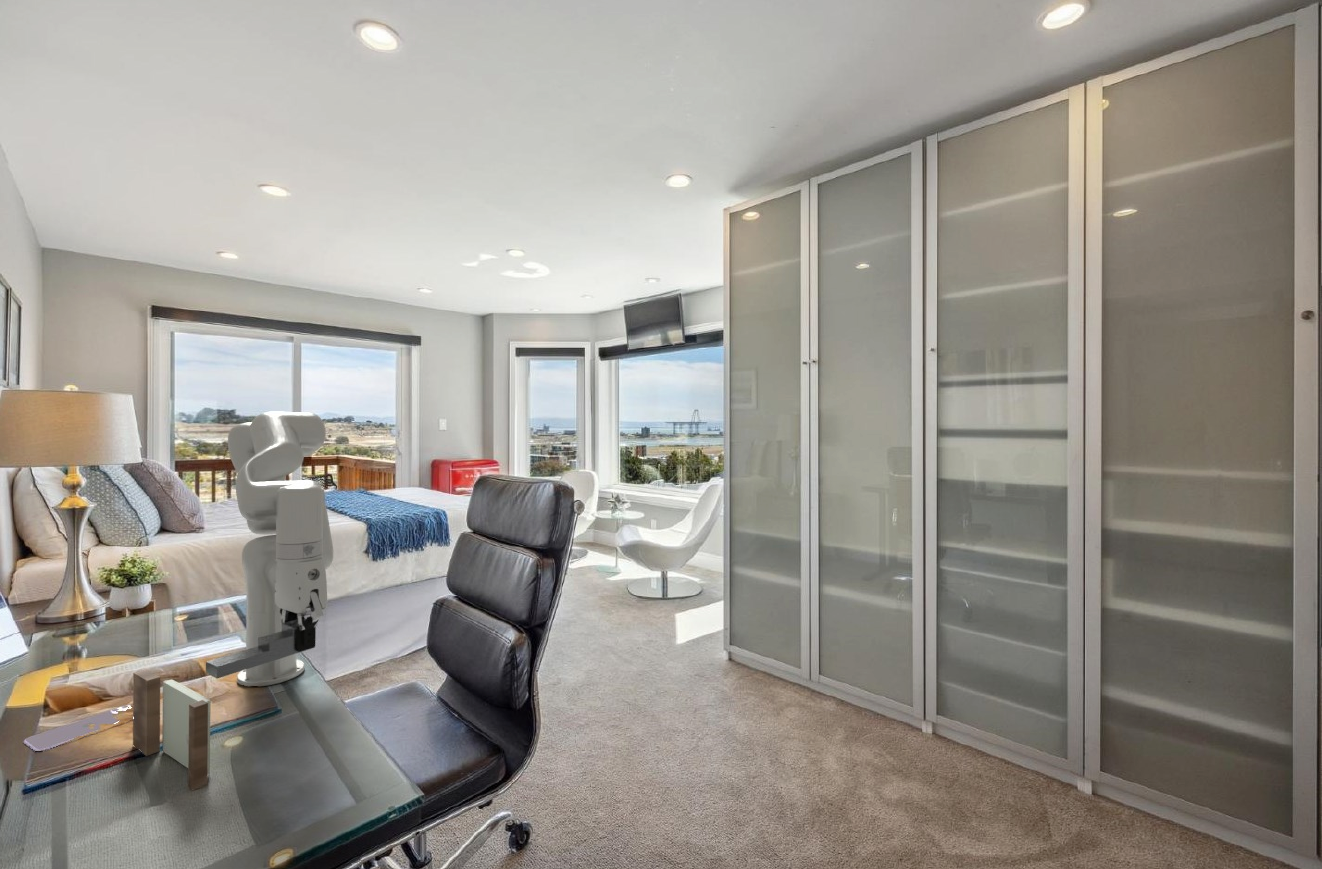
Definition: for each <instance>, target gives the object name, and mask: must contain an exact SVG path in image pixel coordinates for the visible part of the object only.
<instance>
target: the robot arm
mask: <svg viewBox="0 0 1322 869" xmlns="http://www.w3.org/2000/svg"><path fill="white" fill-rule="evenodd" d="M326 432H327V431H326V426H325V423H324V421H323V419H322V418H321V417H320V416H319V415H318V414H316V413H312V412H302V411H301V412H297V411H296V412H294V411H293V412H291V411H267V412H263V413H261V414H258V415H257V416H255V417H254V418H253V419H252V420H251V422H250V421H249V422H244V423H243V422H242V423H238V424H237V425H235V426H233V427H232V428H231V429H230V430H229V433H228V436H227V447H228V454H229V457H230V460H231V462H232V465H233V468H234V470H235V471H236V473H237V475H236V478H235V494H236V500H237V506H238V510H239V513H240V514H241V516H242V518H243V519H245V520H246V524H247V527H248V529H249V530H250V532H252V533H253V534H255V535H260V537H259V536H258V537H255V538H253V539H251V540H250V541H248V542H246V543H245V545H244V546H243V548H242V552H241V561H242V568H243V573H244V575H243V576H244V580H245V581H244V582H245V591H246V592H245V594H246V595H245V596H246V597H245V598H246V607H245V608H246V610H245V611H246V617H245V619H246V620H245V621H246V623H245V624H246V625H245V626H246V628H245V629H246V631H245V634H246V635H245V641H246V642H245V650H247V649H250V648H254V647H257V646H258V638H260V637H264V636H267V635H271V634H274V633H278V632H281V630H282V623H285V622H289V621H293V620H297V619H298V624H299V630H296V651H298V652H299V653H301V651H302V652H305V651H304V650H306V651H308V650H307V649H309V650H311V649H310V648H312V649H314V648H313V647H315V648H316V639H317V638H316V637H317V636H316V629H317V628H316V627H318V622H319V620H320V619H322V618H323V617H324V611H323V610H325V609H326V608H327V607H328V584H327V583H328V582H327V573H326V570H327V569H328V568H331V567H330V566H332V564H333V561H334V546H333V539H332V533H331V526H330V522H329V515H328V509H327V505H326V502H325V501H326V492H325V489H324V488H323V487H322V486H321V485H320V483H319V481H318V482H317V481H315V480H309V479H308V480H307V479H305V480H303V479H302V480H301V479H300V480H287V479H286V477H285V476H288V475H290V474H293V473H294V472H296V471H297V470H298V469H299V468H300V467H301V466H302V464H303V462H304V458H305V457H308V456H311V455H313V454H314V453H315V452H317V451H318V450H320V448H322V446H323V445H324V443H325V441H326V436H327V435H326ZM261 535H263V536H261ZM307 609H310V610H307ZM305 616H307V617H305ZM304 618H306V620H304ZM297 654H298V653H296V654H293V655H290V656H287V657H284V658H280V659H277V660H274V661H271V662H268V663H265V664H262V665H258V666H255V667H252V668H249V669H246V670H243V671H240V672H238V674H237V676H236V677H237V678H236V681H237V683H238V685H241V686H243V685H244V686H245V687H250V686H258V687H265V686H271V685H276V684H281V683H284V682H287V681H289V680H291V679H294V678H296V677H297V676H299V675H300V674H302V673H303V672H304V670H305V662H303V661H302V660H301V659H298V658H297V657H298V656H297Z"/></svg>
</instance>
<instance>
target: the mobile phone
mask: <svg viewBox="0 0 1322 869" xmlns="http://www.w3.org/2000/svg"><path fill="white" fill-rule="evenodd" d="M128 707H129V708H128ZM131 708H132V707H131V704H127V705H123V706H121V707H117V708H114V709H111V710H108V711H104V712H101V713H98V714H95V715H93V716H89V717H86V718H83V719H80V720H77V721H74V722H73V721H72V722H71V723H68V724H63V725H62V726H58V727H54V728H52V729H49V730H46V731H43V732H40V733H37V734H34V735H31V736H28V737H26V738H25V739H24V740H23V744H24V745H25V746H27V747H28V748H30V749H31V750H32V749H33V750H32V751H34V750H35V751H41V750H45V749H49V750H51V749H50V748H52V749H54V748H53V747H55V748H57V747H56V746H58V745H60V744H63V743H65V742H68V741H70V740H73V739H74V738H76V737H78V736H83V735H86V734H88V733H91V732H94V731H98V730H99V729H101V728H100V725H99V724H116V723H118V722H119V721H120V720H119V721H117V720H118V719H115V718H113V717H115V716H113V714H116V715H117V714H118V712H116V711H126V710H127V709H131ZM116 718H118V717H116ZM88 724H95V726H93V727H94V729H90V728H89V727H91V726H90V725H88ZM58 747H59V746H58ZM35 751H34V752H35Z"/></svg>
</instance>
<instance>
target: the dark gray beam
mask: <svg viewBox="0 0 1322 869" xmlns="http://www.w3.org/2000/svg"><path fill="white" fill-rule="evenodd" d="M306 618H307V617H304V620H306ZM296 630H299V624H298V619H297V620H293V621H289V622H285V623H282V630H281V632H278V633H274V634H271V635H267V636H264V637H260V638H258V646H257V647H254V648H250V649H247V650H246V649H244V650H240V651H237V652H234V653H233V652H232V653H230V654H227V655H223V656H220V657H216V658H213V659H209V660H206V661H205V674H207V675H209V676H211V677H213V678H215V679H220V678H224V677H226V676H230V675H233V674H236V673H240V672H241V671H243V670H246V669H249V668H252V667H255V666H258V665H262V664H265V663H268V662H271V661H274V660H277V659H280V658H284V657H287V656H290V655H293V654H296V653H297V654H298V653H301V652H305V651H308V650H311V649H314V648H316V646H315V647H313V648H310V649H307V650H304V651H301V652H298V651H296Z"/></svg>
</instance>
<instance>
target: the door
mask: <svg viewBox="0 0 1322 869" xmlns="http://www.w3.org/2000/svg"><path fill="white" fill-rule="evenodd" d="M201 700H204V701H206V702H207V703H208V758H207V776H208V775H210V774H211V699H209V698H207V697H206V696H203V695H202V694H200V693H198V692H197V691H194V690H193V689H191V688H189V687H187V686H185V685H183V684H182V683H179V682H178V681H176V680H174V679H166V680H163V681H162V735H161V736H162V738H161V739H162V741H161V742H162V747H161V748H162V751H163V752H164V754H166V755H168V756H169V757H171V758H172V759H174V760H176V762H178V763H180V764H181V765H183V766H184V767H185V768H187V769H188V764H189V704H192V703H195V702H198V701H201Z"/></svg>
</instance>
